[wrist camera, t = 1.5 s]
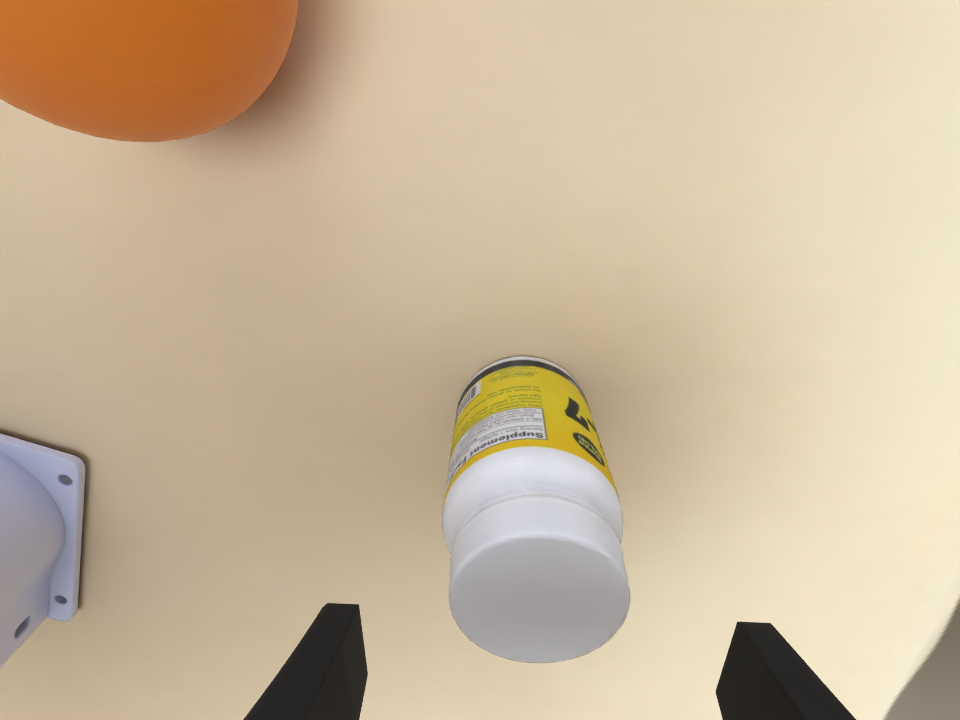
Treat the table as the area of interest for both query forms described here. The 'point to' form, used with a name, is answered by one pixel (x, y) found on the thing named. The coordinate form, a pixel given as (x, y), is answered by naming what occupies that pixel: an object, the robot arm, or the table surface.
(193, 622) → the table surface
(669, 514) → the table surface
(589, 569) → the supplement bottle
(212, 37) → the orange
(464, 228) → the table surface
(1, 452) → the robot arm
